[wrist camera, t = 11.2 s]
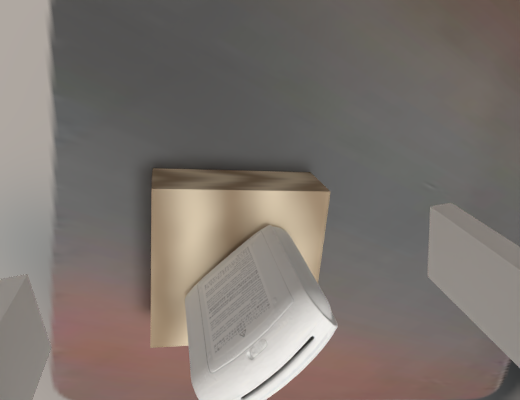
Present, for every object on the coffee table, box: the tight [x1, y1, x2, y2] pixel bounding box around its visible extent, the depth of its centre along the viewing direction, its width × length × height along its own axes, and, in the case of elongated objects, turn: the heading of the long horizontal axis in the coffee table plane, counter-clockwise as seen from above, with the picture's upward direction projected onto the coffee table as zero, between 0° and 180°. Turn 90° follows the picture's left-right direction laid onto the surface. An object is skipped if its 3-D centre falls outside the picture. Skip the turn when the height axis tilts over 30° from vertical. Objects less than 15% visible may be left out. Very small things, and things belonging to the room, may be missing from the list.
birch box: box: [151, 168, 330, 348], centre depth 41 cm, size 14×14×6 cm
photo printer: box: [185, 225, 337, 400], centre depth 32 cm, size 10×4×12 cm, turn 130°
